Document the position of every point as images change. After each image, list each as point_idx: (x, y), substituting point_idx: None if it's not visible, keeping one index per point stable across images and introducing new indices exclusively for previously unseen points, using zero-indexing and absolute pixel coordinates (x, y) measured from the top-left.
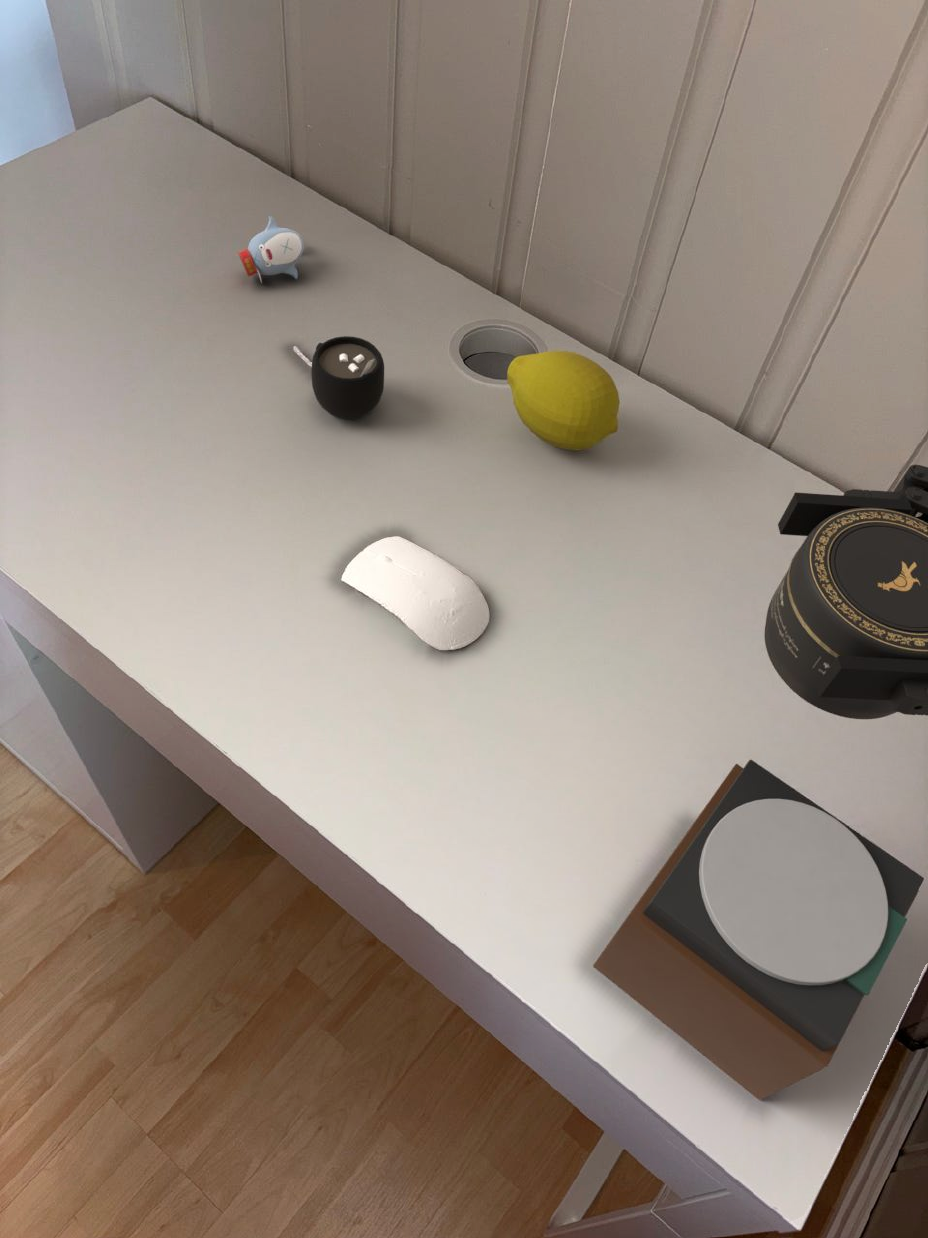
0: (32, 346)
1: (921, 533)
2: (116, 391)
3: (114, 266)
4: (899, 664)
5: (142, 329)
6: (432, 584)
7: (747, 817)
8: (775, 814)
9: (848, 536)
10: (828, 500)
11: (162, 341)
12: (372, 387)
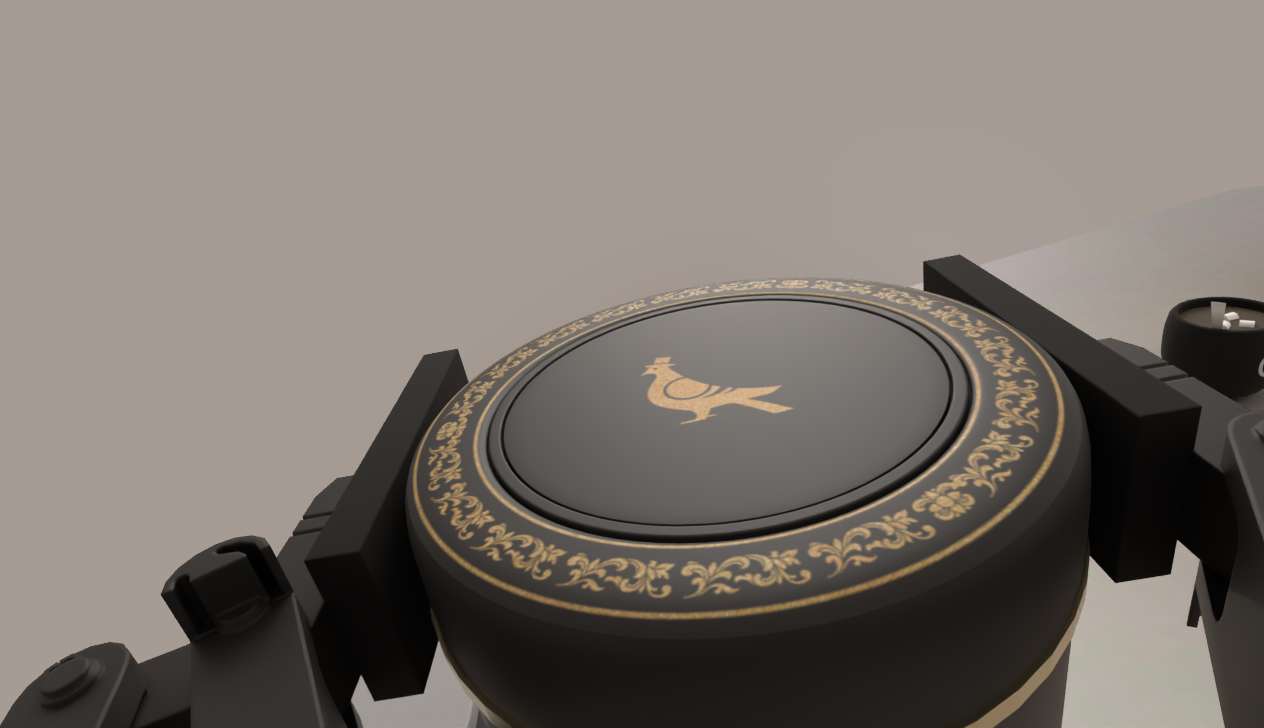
0: (1045, 253)
1: (972, 416)
2: (1041, 289)
3: (1202, 243)
4: (404, 421)
5: (1138, 274)
6: None
7: (443, 658)
8: (439, 705)
9: (833, 307)
10: (979, 286)
11: (1137, 284)
12: (1217, 350)
